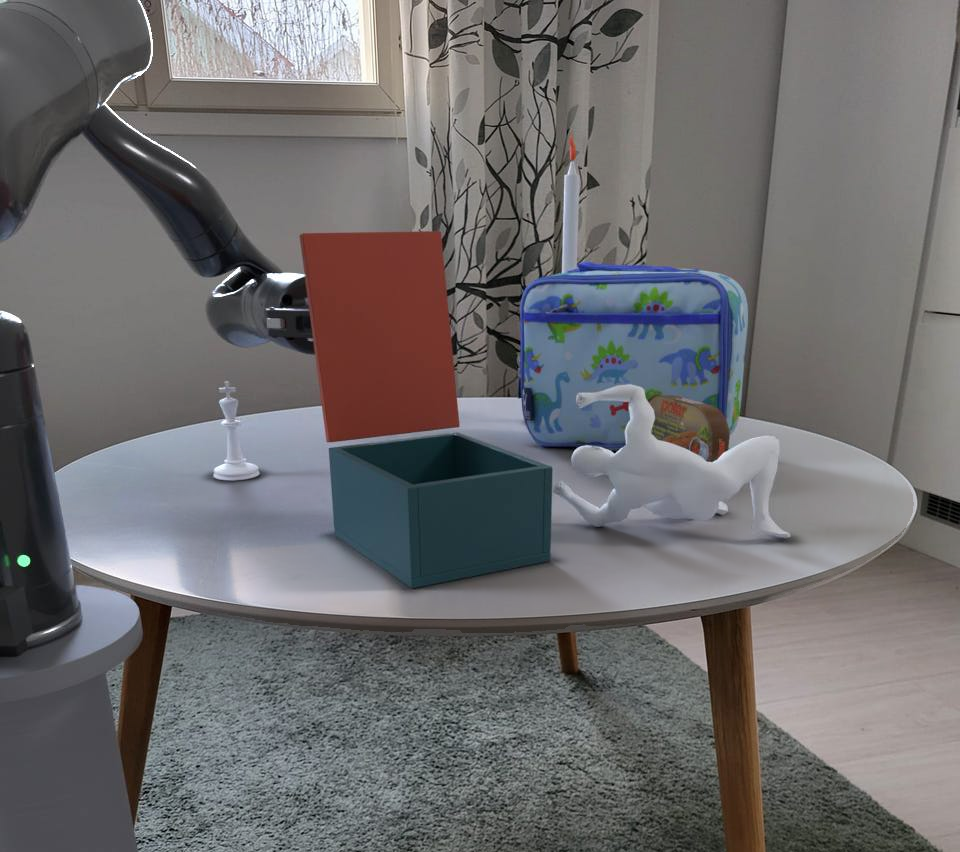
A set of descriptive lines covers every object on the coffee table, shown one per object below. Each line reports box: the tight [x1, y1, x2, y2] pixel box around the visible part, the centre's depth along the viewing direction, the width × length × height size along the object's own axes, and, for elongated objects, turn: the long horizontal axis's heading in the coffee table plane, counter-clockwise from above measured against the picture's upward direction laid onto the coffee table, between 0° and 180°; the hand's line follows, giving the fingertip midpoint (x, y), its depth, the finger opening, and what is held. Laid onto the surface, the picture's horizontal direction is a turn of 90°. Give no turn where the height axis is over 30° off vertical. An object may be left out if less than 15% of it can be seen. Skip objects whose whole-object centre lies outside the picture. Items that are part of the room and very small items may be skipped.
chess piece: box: [213, 380, 261, 482], centre depth 104 cm, size 5×5×10 cm
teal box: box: [328, 431, 554, 589], centre depth 80 cm, size 16×13×8 cm
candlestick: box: [561, 133, 581, 273], centre depth 124 cm, size 11×11×35 cm
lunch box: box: [516, 260, 749, 452], centre depth 113 cm, size 26×11×21 cm, turn 62°
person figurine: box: [552, 384, 792, 540], centre depth 83 cm, size 13×13×18 cm
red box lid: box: [299, 230, 460, 443], centre depth 83 cm, size 17×13×1 cm
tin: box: [647, 394, 731, 462], centre depth 101 cm, size 15×3×8 cm, turn 19°
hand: (366, 327), depth 86 cm, fingers closed
